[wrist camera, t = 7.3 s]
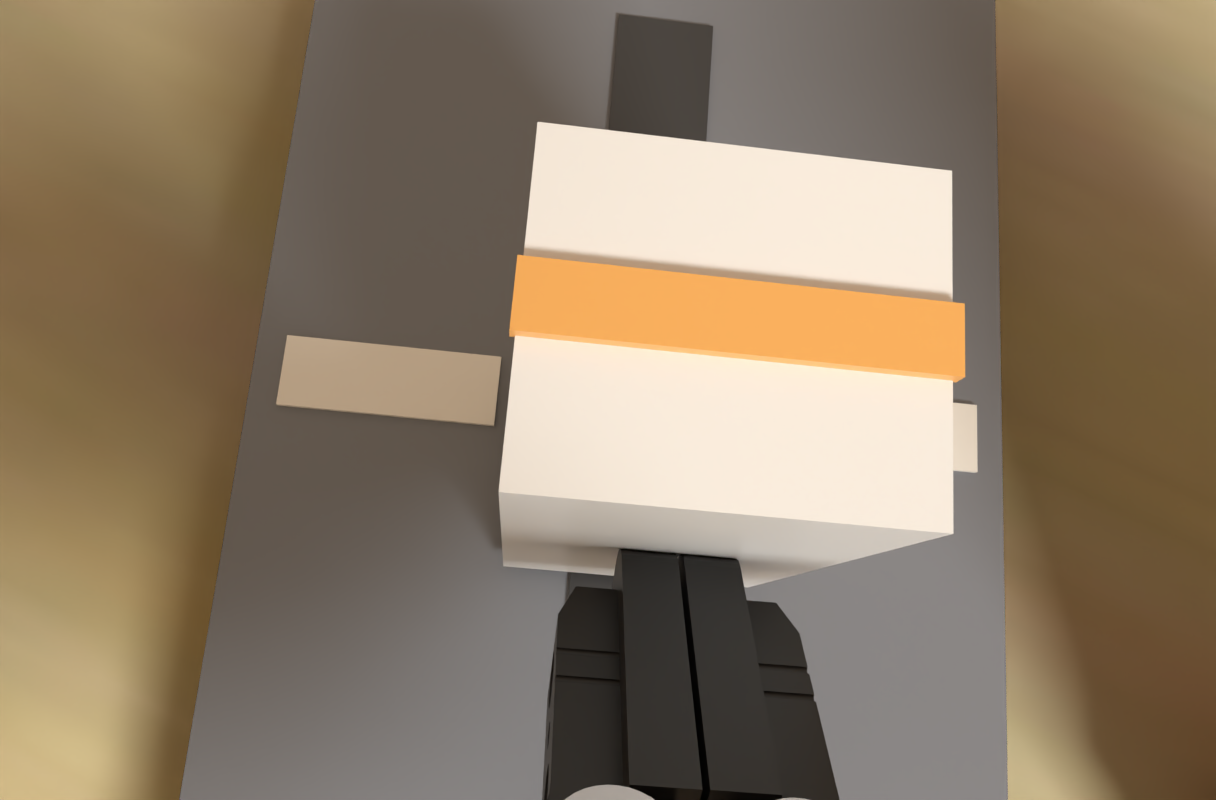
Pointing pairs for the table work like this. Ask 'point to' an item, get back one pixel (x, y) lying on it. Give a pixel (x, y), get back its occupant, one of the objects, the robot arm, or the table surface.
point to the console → (480, 380)
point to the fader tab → (728, 356)
